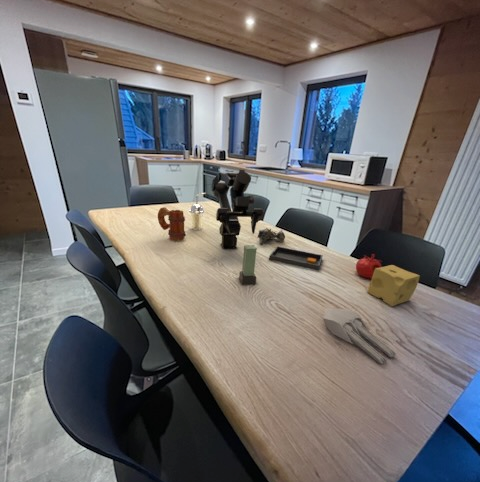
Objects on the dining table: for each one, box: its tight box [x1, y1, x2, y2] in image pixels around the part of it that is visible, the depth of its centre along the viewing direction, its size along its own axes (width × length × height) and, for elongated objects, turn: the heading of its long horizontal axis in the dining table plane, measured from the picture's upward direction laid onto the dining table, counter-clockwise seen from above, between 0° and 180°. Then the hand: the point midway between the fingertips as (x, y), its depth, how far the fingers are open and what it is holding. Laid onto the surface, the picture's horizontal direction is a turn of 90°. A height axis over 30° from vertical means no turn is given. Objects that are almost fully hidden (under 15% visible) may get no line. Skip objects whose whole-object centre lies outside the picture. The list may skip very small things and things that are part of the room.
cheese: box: [367, 264, 421, 307], centre depth 92 cm, size 10×11×10 cm
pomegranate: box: [355, 253, 383, 280], centre depth 107 cm, size 10×10×9 cm
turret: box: [322, 307, 396, 365], centre depth 71 cm, size 10×20×5 cm, turn 33°
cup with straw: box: [188, 192, 207, 231], centre depth 146 cm, size 8×9×20 cm
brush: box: [238, 244, 257, 286], centre depth 94 cm, size 5×5×14 cm
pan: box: [268, 246, 324, 271], centre depth 117 cm, size 21×13×3 cm, turn 68°
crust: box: [307, 257, 316, 264], centre depth 115 cm, size 4×4×2 cm
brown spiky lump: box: [257, 227, 286, 246], centre depth 137 cm, size 12×11×15 cm
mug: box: [157, 206, 187, 242], centre depth 130 cm, size 15×8×15 cm, turn 71°
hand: (242, 233), depth 104 cm, fingers open, 9 cm apart
